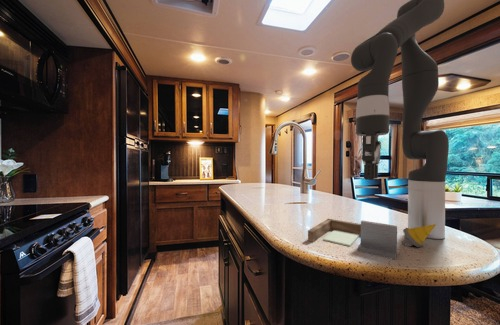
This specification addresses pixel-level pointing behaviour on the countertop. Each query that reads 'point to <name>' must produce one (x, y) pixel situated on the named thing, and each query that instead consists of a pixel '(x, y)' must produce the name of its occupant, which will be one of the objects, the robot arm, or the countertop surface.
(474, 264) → the countertop surface
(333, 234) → the mat
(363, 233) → the angle bracket
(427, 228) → the yellow spiral cone
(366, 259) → the countertop surface
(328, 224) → the corner walls
